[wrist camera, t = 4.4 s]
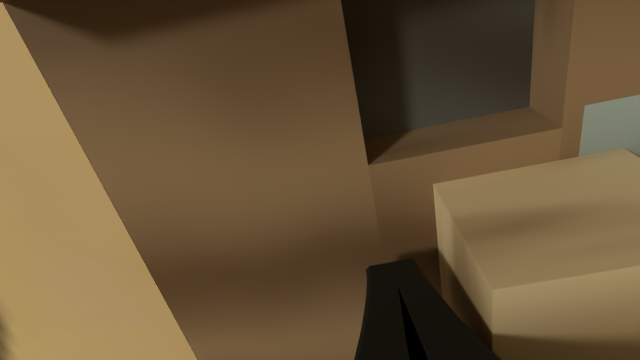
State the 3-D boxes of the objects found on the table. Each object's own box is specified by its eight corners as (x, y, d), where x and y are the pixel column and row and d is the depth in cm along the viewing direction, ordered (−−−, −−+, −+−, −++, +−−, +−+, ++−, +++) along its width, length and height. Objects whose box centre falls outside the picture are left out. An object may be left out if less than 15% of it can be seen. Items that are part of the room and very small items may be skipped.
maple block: (599, 287, 13) (708, 410, 9) (443, 312, 13) (491, 439, 10) (623, 148, 10) (784, 241, 7) (433, 184, 11) (492, 290, 7)
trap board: (692, 356, 18) (787, 453, 14) (260, 421, 19) (250, 523, 16) (939, -290, 8) (1422, -481, 5) (29, -59, 10) (-132, -70, 6)
